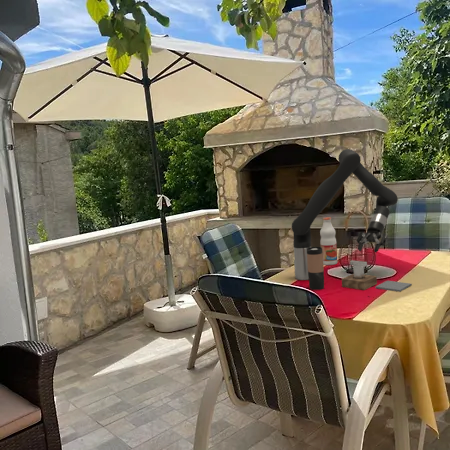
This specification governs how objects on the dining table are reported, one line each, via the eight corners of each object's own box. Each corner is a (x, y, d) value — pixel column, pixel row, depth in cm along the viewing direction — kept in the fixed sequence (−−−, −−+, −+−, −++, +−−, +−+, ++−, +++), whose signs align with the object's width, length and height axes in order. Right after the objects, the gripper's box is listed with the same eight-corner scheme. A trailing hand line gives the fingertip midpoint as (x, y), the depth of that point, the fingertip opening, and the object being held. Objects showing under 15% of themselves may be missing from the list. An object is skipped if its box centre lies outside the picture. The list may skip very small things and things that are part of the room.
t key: (350, 285, 217) (349, 261, 215) (354, 283, 219) (352, 260, 218) (365, 287, 211) (363, 263, 209) (368, 285, 213) (367, 261, 212)
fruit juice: (329, 261, 272) (327, 216, 269) (341, 263, 264) (338, 217, 261) (318, 263, 267) (315, 218, 264) (329, 266, 259) (326, 219, 256)
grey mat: (375, 288, 208) (375, 286, 208) (387, 282, 216) (387, 280, 216) (400, 291, 199) (400, 290, 199) (411, 285, 208) (411, 283, 207)
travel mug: (325, 285, 220) (322, 246, 217) (324, 290, 213) (321, 249, 210) (309, 285, 222) (307, 247, 219) (308, 290, 215) (305, 250, 212)
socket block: (342, 286, 215) (341, 278, 215) (354, 280, 223) (354, 273, 223) (364, 290, 207) (364, 281, 206) (377, 284, 215) (376, 276, 214)
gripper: (361, 220, 228) (351, 245, 222) (387, 220, 218) (377, 247, 212) (367, 228, 233) (357, 253, 226) (393, 229, 222) (383, 256, 216)
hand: (367, 250), depth 219 cm, fingers open, 8 cm apart
